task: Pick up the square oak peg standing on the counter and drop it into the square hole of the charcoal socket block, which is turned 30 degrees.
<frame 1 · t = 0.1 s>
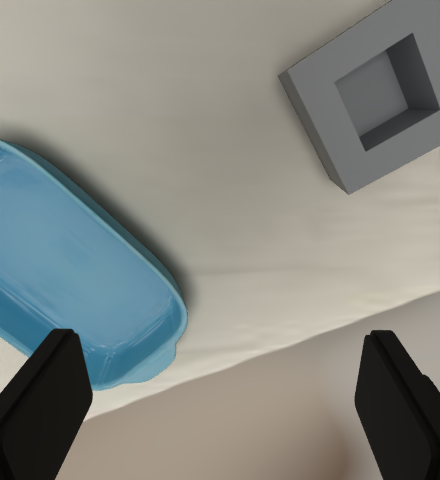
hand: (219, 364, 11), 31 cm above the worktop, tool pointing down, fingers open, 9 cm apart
casserole dish: (72, 257, 46), on the worktop
socket: (360, 96, 36), on the worktop
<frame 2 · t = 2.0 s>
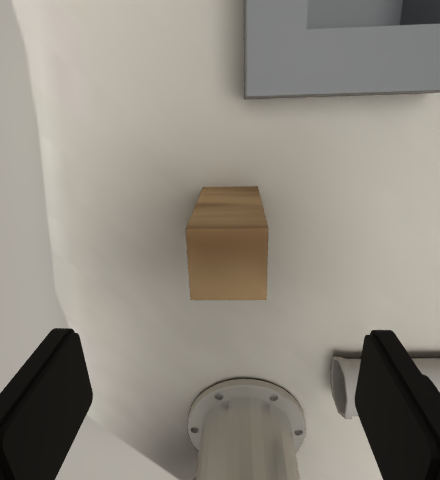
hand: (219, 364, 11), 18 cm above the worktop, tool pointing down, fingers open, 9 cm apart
peg: (230, 212, 28), on the worktop
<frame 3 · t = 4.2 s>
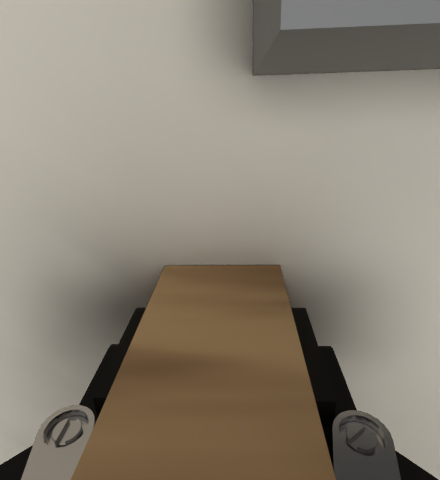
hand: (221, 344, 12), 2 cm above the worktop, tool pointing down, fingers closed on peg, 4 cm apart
peg: (223, 313, 14), on the worktop, touching gripper
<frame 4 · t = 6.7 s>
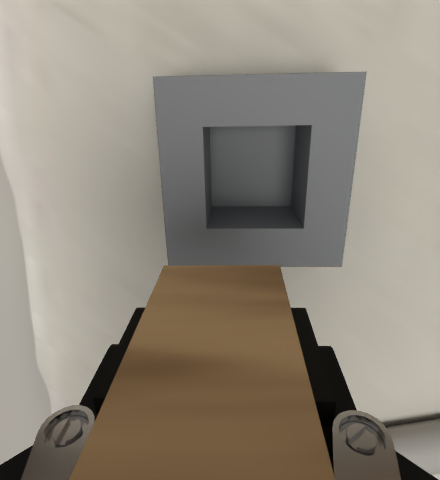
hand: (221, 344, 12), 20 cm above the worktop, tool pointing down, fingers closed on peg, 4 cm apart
tube: (367, 433, 41), on the worktop
socket: (251, 164, 29), on the worktop
peg: (222, 313, 14), point 18 cm above the worktop, touching gripper
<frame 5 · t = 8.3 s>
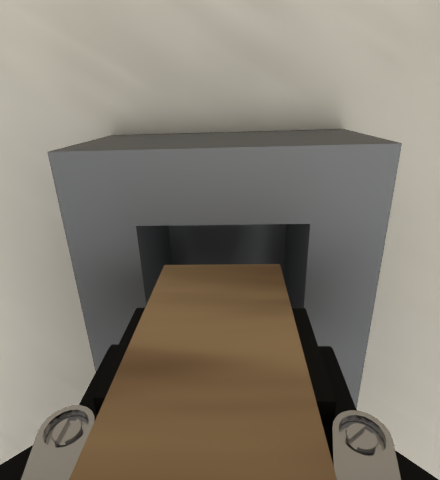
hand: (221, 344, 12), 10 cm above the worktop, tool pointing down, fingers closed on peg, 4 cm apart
socket: (227, 239, 21), on the worktop
peg: (223, 313, 14), point 8 cm above the worktop, touching gripper
when the fingers open (8 cm above the worktop, at t = 9.4 s): peg drops 5 cm, resting on socket.
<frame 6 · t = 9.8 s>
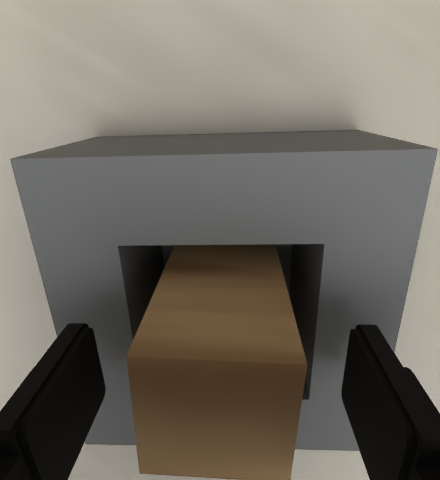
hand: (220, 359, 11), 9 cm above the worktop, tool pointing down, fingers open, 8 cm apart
socket: (227, 252, 19), on the worktop
peg: (226, 260, 18), point 1 cm above the worktop, touching socket
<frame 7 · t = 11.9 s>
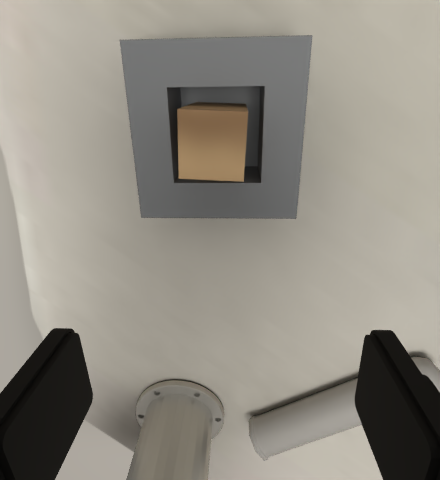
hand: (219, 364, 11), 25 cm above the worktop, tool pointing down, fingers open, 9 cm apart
tube: (336, 389, 46), on the worktop
socket: (221, 127, 32), on the worktop
peg: (220, 128, 31), point 1 cm above the worktop, touching socket
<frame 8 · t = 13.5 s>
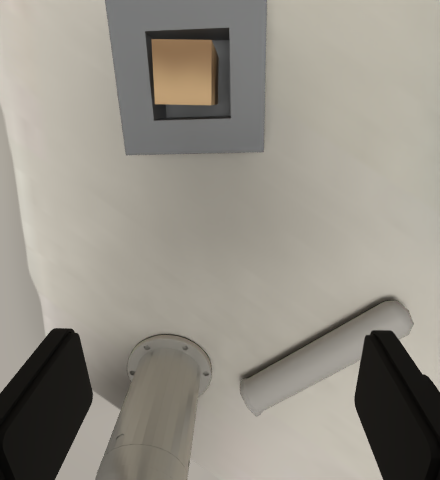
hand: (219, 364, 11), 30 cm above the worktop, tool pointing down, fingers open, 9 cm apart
tube: (319, 343, 48), on the worktop
socket: (198, 81, 35), on the worktop
peg: (196, 80, 34), point 1 cm above the worktop, touching socket
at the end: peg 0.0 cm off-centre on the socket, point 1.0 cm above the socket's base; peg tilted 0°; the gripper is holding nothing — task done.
